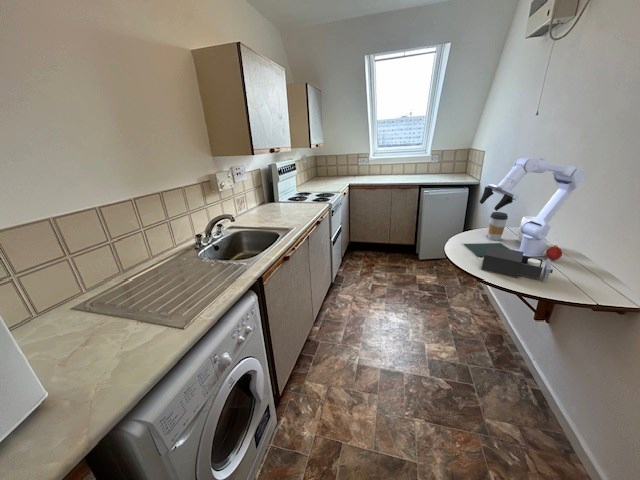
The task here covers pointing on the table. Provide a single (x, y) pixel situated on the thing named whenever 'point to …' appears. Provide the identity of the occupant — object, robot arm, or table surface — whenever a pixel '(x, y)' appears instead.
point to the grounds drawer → (535, 269)
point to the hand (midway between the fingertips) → (487, 206)
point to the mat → (482, 248)
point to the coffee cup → (497, 225)
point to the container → (534, 262)
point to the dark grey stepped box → (502, 261)
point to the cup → (521, 226)
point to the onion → (554, 253)
